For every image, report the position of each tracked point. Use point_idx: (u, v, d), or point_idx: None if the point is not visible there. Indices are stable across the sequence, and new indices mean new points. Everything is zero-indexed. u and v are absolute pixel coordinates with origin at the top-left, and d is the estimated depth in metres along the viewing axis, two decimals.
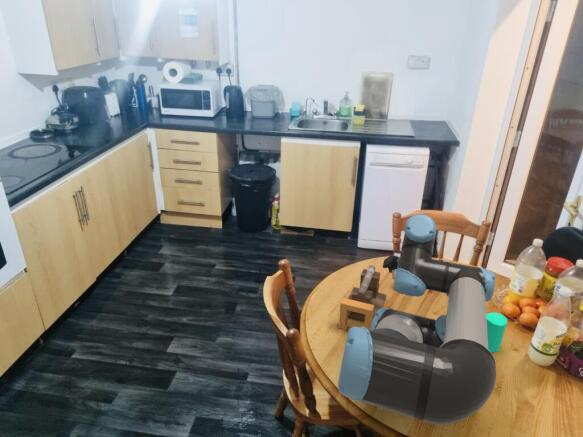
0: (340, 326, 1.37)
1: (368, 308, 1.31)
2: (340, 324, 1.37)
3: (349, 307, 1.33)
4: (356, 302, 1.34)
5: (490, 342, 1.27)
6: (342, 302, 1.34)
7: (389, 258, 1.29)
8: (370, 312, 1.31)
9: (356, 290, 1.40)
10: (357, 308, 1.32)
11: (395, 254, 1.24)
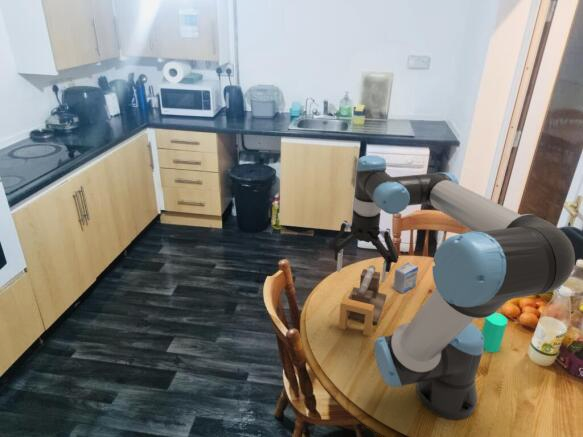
0: (340, 326, 1.37)
1: (368, 308, 1.31)
2: (340, 324, 1.37)
3: (349, 307, 1.33)
4: (356, 302, 1.34)
5: (490, 342, 1.27)
6: (342, 302, 1.34)
7: None
8: (370, 312, 1.31)
9: (356, 290, 1.40)
10: (357, 308, 1.32)
11: (344, 222, 1.23)
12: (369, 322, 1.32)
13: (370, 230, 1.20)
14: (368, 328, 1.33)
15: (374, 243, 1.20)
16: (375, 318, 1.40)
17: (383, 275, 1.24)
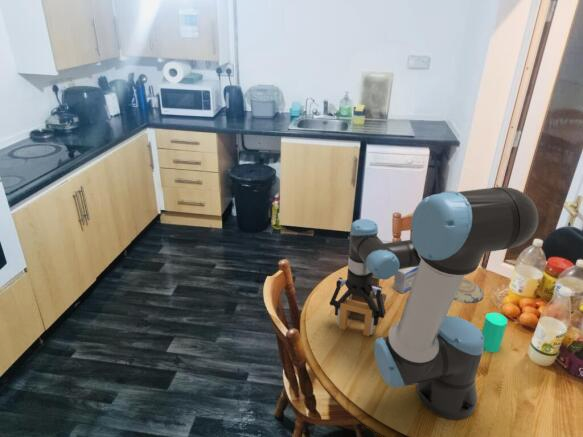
0: (340, 326, 1.37)
1: (368, 308, 1.31)
2: (340, 324, 1.37)
3: (349, 307, 1.33)
4: (356, 302, 1.34)
5: (490, 342, 1.27)
6: None
7: None
8: (370, 312, 1.31)
9: None
10: (357, 308, 1.32)
11: (338, 279, 1.32)
12: (369, 322, 1.32)
13: (364, 286, 1.28)
14: (368, 328, 1.33)
15: (366, 299, 1.29)
16: None
17: (371, 328, 1.33)
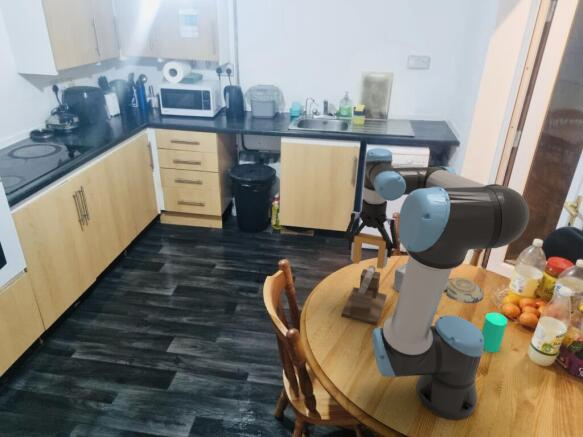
0: (354, 260, 1.40)
1: (382, 239, 1.34)
2: (354, 258, 1.40)
3: (363, 239, 1.36)
4: (369, 235, 1.37)
5: (490, 342, 1.27)
6: None
7: None
8: (384, 243, 1.33)
9: (356, 290, 1.40)
10: (370, 240, 1.35)
11: (353, 212, 1.35)
12: (383, 254, 1.35)
13: (378, 216, 1.31)
14: (381, 260, 1.36)
15: (380, 229, 1.32)
16: (375, 318, 1.40)
17: (385, 260, 1.36)
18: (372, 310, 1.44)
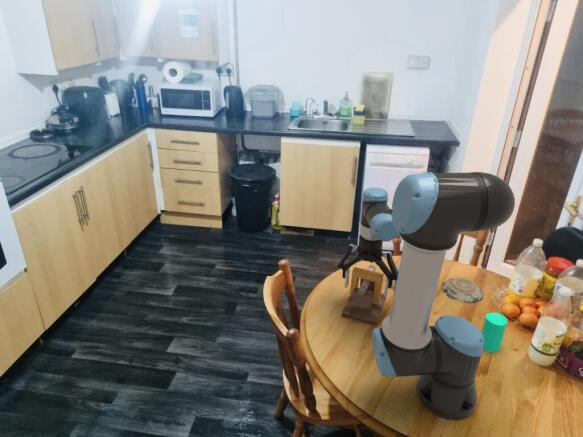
0: (351, 293, 1.46)
1: (378, 276, 1.40)
2: (351, 291, 1.46)
3: (360, 275, 1.41)
4: (366, 270, 1.43)
5: (490, 342, 1.27)
6: (353, 270, 1.42)
7: (344, 255, 1.43)
8: (380, 279, 1.39)
9: (356, 290, 1.40)
10: (367, 276, 1.41)
11: (351, 244, 1.40)
12: (379, 289, 1.41)
13: (374, 252, 1.36)
14: (377, 295, 1.42)
15: (378, 263, 1.37)
16: (375, 318, 1.40)
17: (386, 291, 1.40)
18: (372, 310, 1.44)
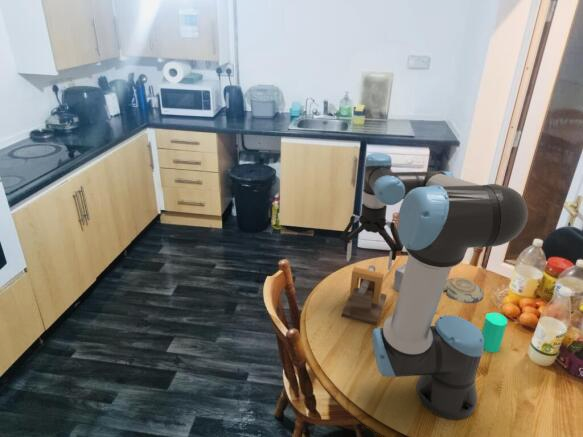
0: (351, 294, 1.46)
1: (378, 276, 1.40)
2: (351, 292, 1.46)
3: (360, 275, 1.41)
4: (366, 270, 1.43)
5: (490, 342, 1.27)
6: (353, 270, 1.42)
7: None
8: (380, 279, 1.39)
9: (356, 290, 1.40)
10: (367, 276, 1.41)
11: (353, 215, 1.35)
12: (379, 289, 1.41)
13: (377, 221, 1.31)
14: (377, 295, 1.42)
15: (381, 233, 1.32)
16: (375, 318, 1.40)
17: (389, 263, 1.35)
18: (372, 310, 1.44)
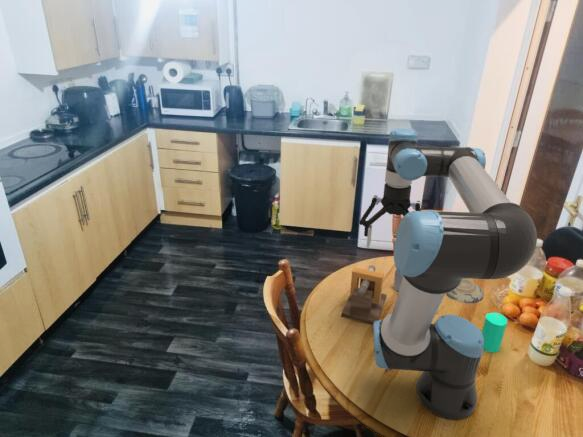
0: (351, 294, 1.46)
1: (378, 275, 1.40)
2: (351, 292, 1.46)
3: (360, 275, 1.41)
4: (366, 270, 1.43)
5: (490, 342, 1.27)
6: (353, 270, 1.42)
7: (367, 209, 1.29)
8: (380, 279, 1.39)
9: (356, 290, 1.40)
10: (367, 276, 1.41)
11: (374, 196, 1.26)
12: (379, 289, 1.41)
13: (401, 202, 1.23)
14: (378, 295, 1.42)
15: None
16: (375, 318, 1.40)
17: None
18: (372, 310, 1.44)
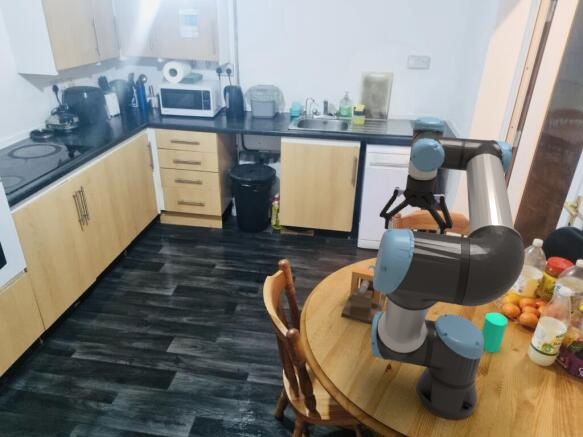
0: (351, 294, 1.46)
1: None
2: (351, 292, 1.46)
3: (360, 275, 1.41)
4: (366, 270, 1.43)
5: (490, 342, 1.27)
6: (353, 270, 1.42)
7: (388, 201, 1.24)
8: None
9: (356, 290, 1.40)
10: (367, 276, 1.41)
11: (396, 188, 1.21)
12: None
13: (425, 195, 1.17)
14: (378, 295, 1.42)
15: (429, 208, 1.18)
16: None
17: None
18: (372, 310, 1.44)
